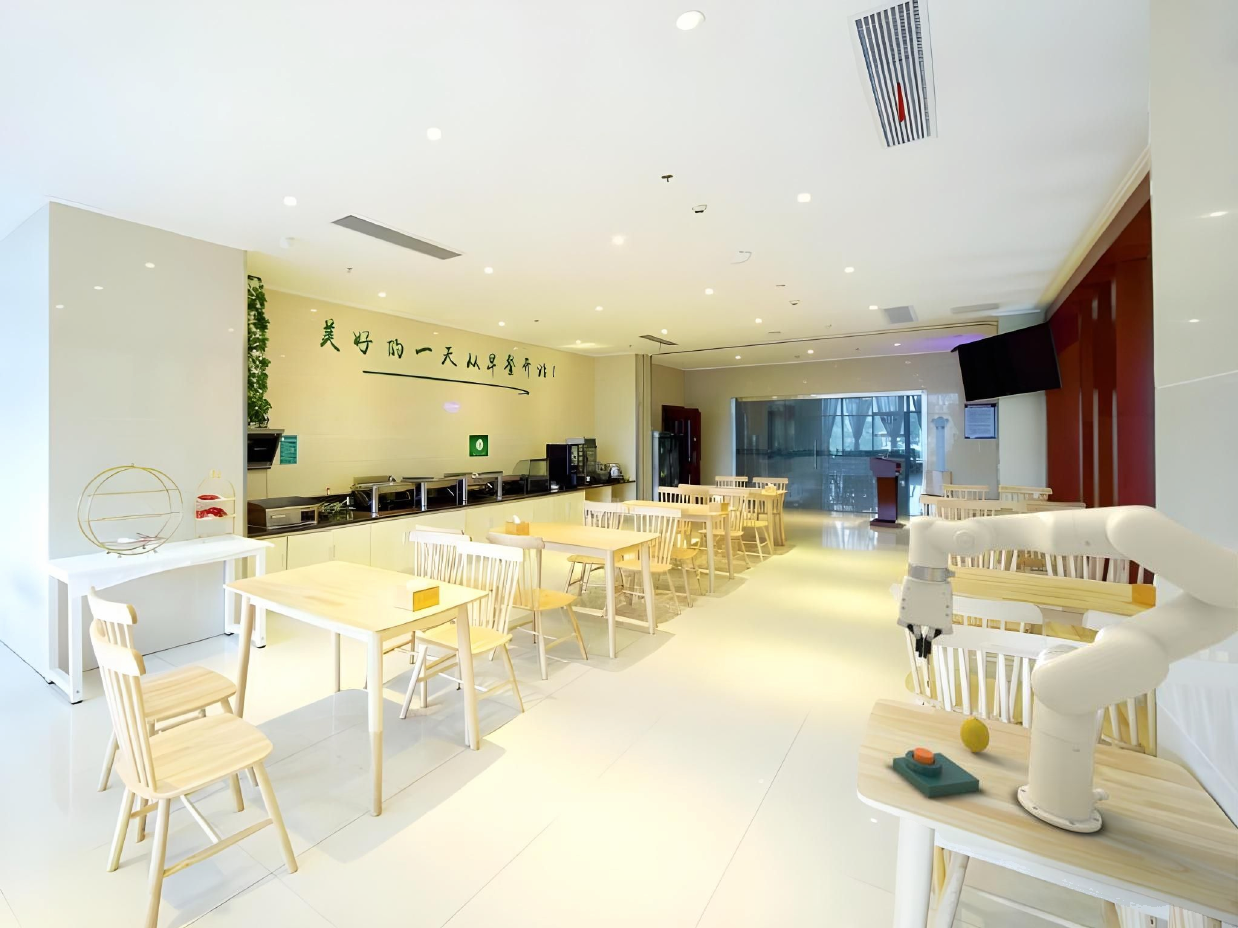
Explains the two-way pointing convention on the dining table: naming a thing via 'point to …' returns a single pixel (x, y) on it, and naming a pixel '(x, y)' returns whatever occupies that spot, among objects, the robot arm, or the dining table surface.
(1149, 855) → the dining table surface
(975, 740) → the lemon
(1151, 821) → the dining table surface
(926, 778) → the button base
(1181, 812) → the dining table surface
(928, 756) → the orange button cap
